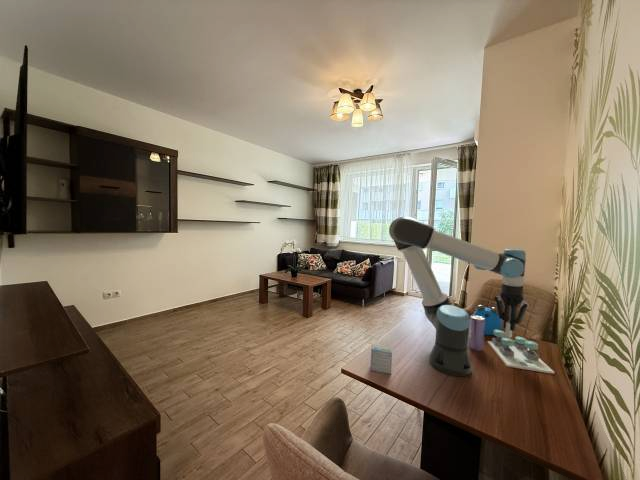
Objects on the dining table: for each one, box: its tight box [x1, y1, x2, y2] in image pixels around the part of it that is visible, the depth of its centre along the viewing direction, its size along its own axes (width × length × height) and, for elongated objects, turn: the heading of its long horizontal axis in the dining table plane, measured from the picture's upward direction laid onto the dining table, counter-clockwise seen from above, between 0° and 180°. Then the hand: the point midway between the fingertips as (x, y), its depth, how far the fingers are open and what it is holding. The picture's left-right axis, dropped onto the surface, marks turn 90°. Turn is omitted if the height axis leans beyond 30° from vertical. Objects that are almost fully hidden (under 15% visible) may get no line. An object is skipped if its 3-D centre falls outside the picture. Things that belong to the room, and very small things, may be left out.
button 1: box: [501, 337, 515, 349], centre depth 112 cm, size 4×4×4 cm
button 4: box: [514, 335, 528, 345], centre depth 119 cm, size 4×4×4 cm
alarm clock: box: [473, 304, 503, 336], centre depth 135 cm, size 13×6×15 cm, turn 53°
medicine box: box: [369, 344, 393, 375], centre depth 99 cm, size 8×4×9 cm, turn 74°
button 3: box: [494, 330, 506, 340], centre depth 121 cm, size 4×4×4 cm
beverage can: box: [467, 314, 485, 352], centre depth 118 cm, size 6×6×15 cm
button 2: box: [525, 340, 539, 353], centre depth 110 cm, size 4×4×4 cm
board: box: [487, 337, 555, 375], centre depth 112 cm, size 16×22×3 cm
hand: (508, 336), depth 112 cm, fingers closed
